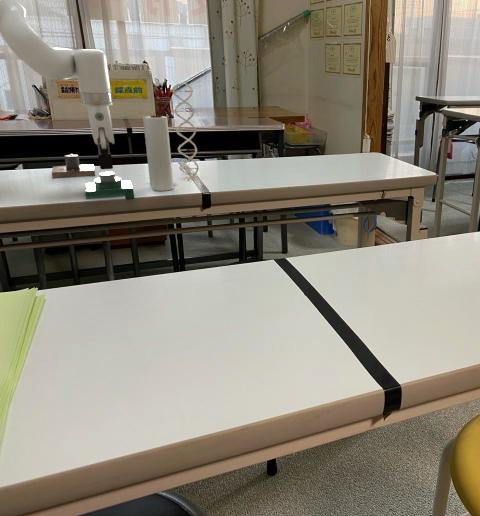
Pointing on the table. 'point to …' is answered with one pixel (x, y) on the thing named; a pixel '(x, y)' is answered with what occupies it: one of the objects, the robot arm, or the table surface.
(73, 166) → the dial
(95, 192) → the green stepped block
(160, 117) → the paper towel roll
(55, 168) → the warmer panel
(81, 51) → the robot arm
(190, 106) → the dna model
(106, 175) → the button
